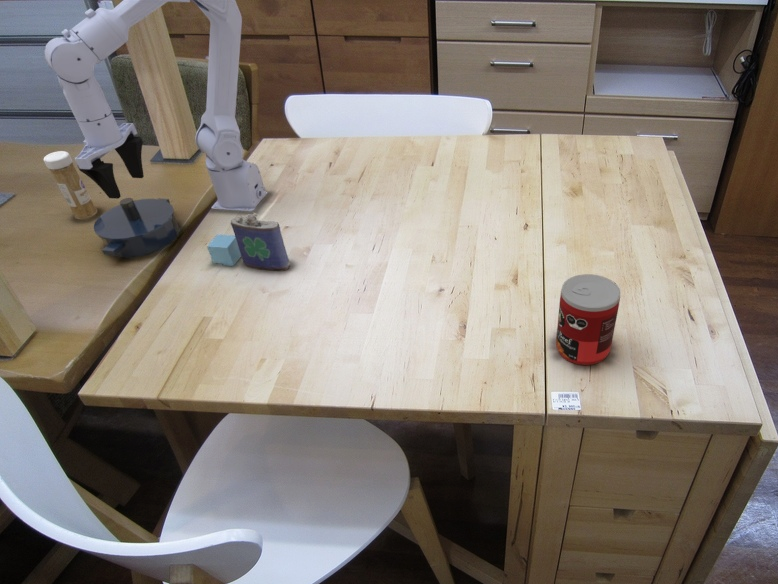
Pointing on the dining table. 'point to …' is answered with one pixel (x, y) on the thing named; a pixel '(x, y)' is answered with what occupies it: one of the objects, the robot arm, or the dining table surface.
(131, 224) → the lid
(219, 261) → the blue cube
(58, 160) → the sprinkles bottle
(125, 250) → the pot
